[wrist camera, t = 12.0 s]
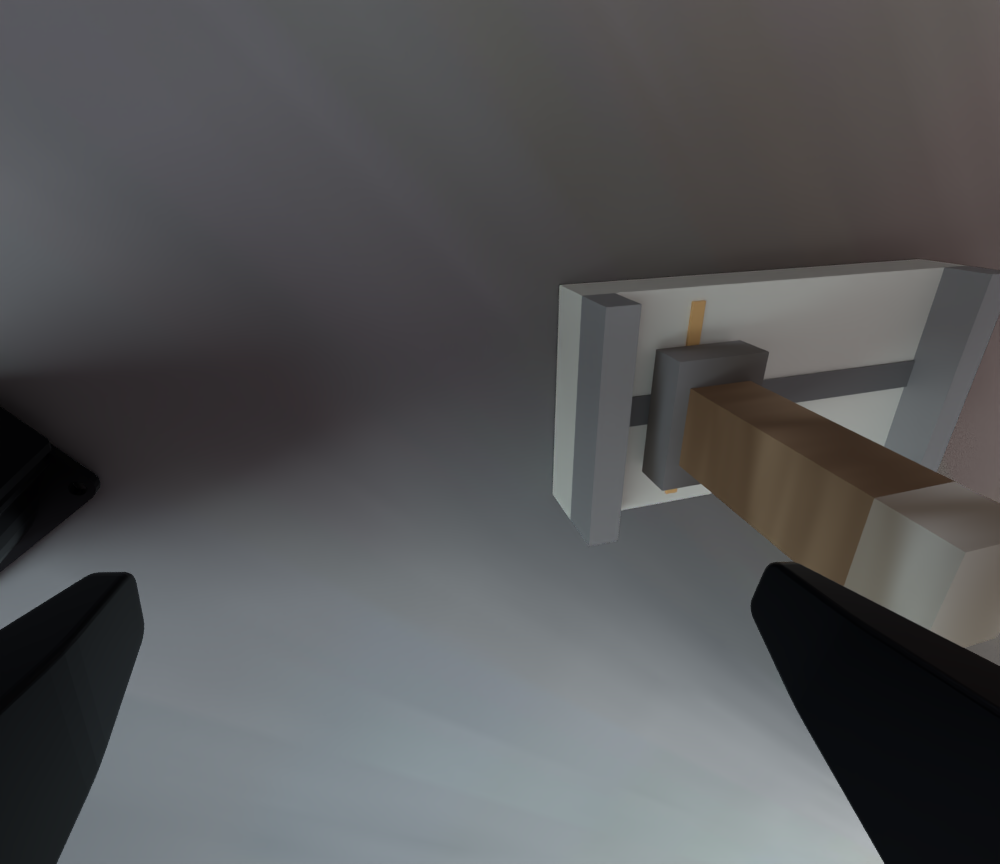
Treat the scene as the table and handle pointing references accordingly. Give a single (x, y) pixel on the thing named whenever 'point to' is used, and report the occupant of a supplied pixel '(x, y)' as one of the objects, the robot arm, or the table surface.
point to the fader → (825, 491)
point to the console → (790, 366)
